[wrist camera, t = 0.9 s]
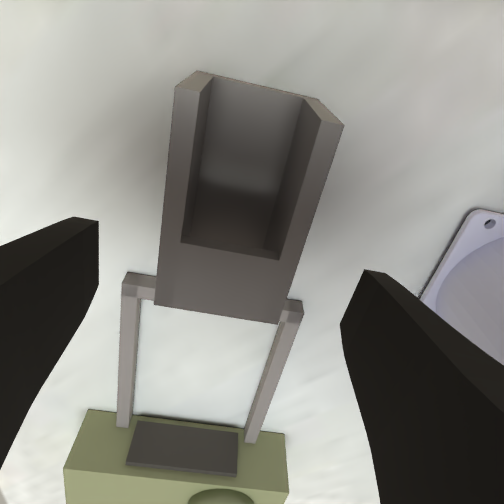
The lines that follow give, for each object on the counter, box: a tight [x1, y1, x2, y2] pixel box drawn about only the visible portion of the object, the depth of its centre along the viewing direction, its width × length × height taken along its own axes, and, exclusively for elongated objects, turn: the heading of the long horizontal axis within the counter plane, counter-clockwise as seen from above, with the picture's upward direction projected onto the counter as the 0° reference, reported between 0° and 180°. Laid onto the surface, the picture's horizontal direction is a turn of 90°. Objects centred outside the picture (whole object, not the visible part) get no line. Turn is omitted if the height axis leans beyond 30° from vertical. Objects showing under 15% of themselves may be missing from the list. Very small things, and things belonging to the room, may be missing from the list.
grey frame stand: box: [63, 272, 304, 504], centre depth 22 cm, size 14×17×5 cm
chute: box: [154, 71, 344, 325], centre depth 15 cm, size 8×5×5 cm, turn 168°
